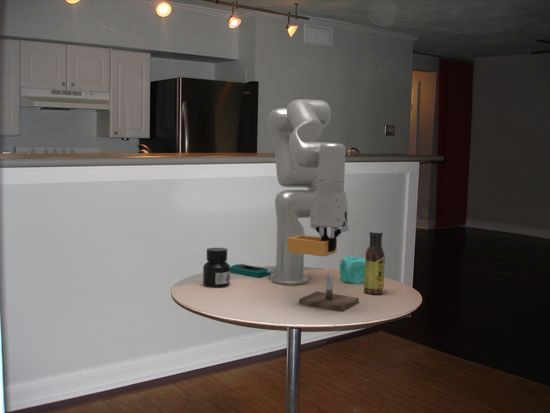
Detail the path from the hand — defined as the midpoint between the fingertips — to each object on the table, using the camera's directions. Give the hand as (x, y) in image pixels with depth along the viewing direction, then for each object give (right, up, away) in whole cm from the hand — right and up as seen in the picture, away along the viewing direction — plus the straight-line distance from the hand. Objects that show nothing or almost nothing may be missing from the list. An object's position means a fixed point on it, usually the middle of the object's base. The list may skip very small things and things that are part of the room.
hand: (328, 250), depth 172 cm
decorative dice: (+12, -14, +38) cm, 43 cm away
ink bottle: (-35, -14, +27) cm, 46 cm away
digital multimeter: (-24, -13, +46) cm, 54 cm away
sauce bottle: (+17, -15, +22) cm, 32 cm away
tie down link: (-5, -1, +3) cm, 5 cm away
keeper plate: (+1, -16, +7) cm, 18 cm away
